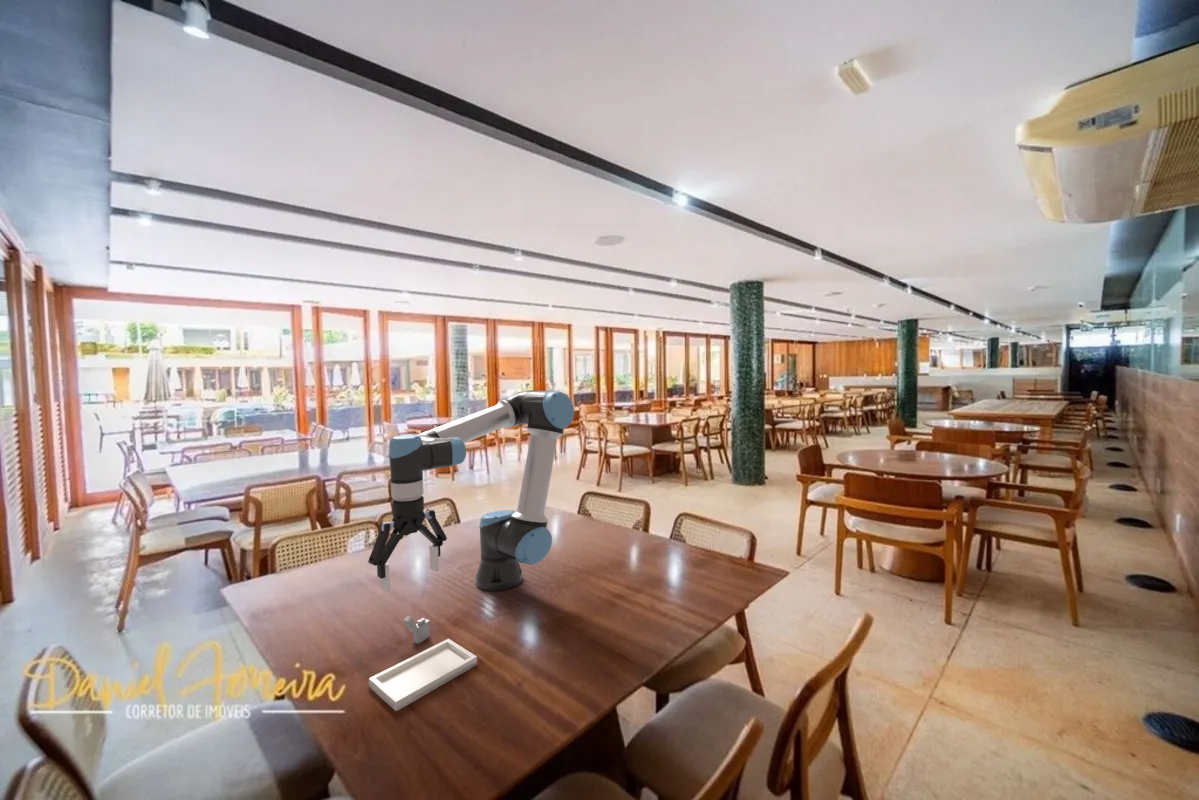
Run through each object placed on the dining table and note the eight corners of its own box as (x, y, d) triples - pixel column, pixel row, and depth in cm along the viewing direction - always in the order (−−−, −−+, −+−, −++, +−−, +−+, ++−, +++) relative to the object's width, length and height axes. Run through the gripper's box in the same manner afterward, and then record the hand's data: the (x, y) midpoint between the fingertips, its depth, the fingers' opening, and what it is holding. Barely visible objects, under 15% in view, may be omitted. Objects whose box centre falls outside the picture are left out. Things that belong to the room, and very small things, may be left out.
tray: (448, 646, 121) (448, 638, 121) (477, 664, 113) (476, 656, 113) (369, 687, 105) (368, 678, 105) (396, 711, 98) (395, 702, 98)
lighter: (425, 634, 126) (424, 605, 126) (430, 635, 125) (429, 606, 125) (403, 648, 120) (402, 617, 119) (408, 650, 119) (407, 619, 119)
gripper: (441, 484, 131) (444, 559, 133) (349, 506, 111) (354, 594, 113) (458, 488, 127) (461, 565, 128) (366, 512, 107) (371, 603, 108)
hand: (411, 579), depth 121 cm, fingers open, 13 cm apart
